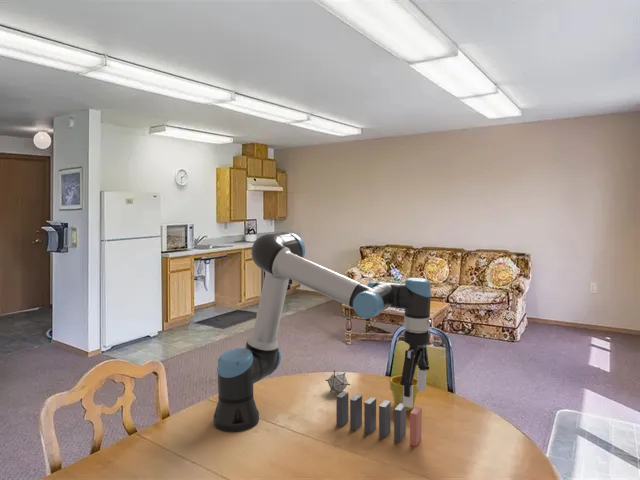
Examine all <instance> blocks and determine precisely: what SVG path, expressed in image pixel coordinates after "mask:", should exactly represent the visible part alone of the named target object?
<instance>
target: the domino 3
mask: <svg viewBox="0 0 640 480" xmlns="http://www.w3.org/2000/svg"><path fill="white" fill-rule="evenodd" d="M363 405H364V406H363V407H364V409H363V411H364V412H363V413H364V414H363V415H364V419H363V420H364V425H363V427H364V428H363V429H364V431H363V433H364V434H367V435H371V434H372V433H374V430H376V429H377V398H376V397H373V396H370V397H369V398H368V399H367V400H365V401H364V403H363Z"/></svg>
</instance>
